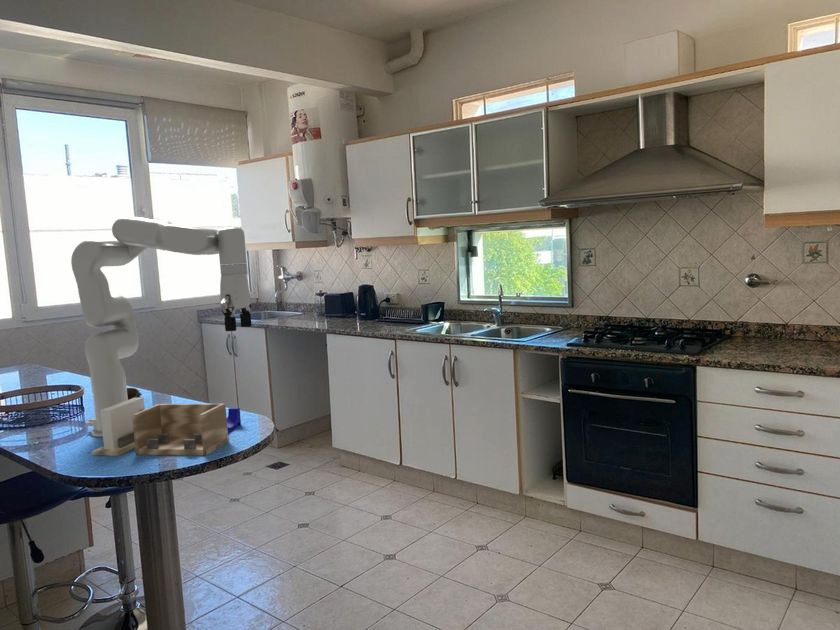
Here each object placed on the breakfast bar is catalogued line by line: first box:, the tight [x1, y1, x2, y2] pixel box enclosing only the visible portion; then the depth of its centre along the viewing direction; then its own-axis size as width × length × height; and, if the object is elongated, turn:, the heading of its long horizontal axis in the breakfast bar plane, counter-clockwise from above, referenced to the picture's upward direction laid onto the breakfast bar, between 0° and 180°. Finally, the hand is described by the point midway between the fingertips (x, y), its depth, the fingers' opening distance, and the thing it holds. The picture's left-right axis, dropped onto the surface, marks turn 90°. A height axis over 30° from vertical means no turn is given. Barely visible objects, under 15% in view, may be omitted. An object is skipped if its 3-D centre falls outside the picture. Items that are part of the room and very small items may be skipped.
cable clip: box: [226, 407, 242, 434], centre depth 191 cm, size 12×4×6 cm, turn 169°
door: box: [100, 396, 146, 449], centre depth 181 cm, size 15×4×11 cm, turn 169°
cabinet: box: [132, 403, 229, 456], centre depth 175 cm, size 21×12×11 cm, turn 79°
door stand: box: [92, 432, 135, 457], centre depth 181 cm, size 8×18×4 cm, turn 169°
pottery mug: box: [127, 387, 143, 400], centre depth 229 cm, size 12×9×8 cm
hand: (238, 328), depth 186 cm, fingers open, 9 cm apart
